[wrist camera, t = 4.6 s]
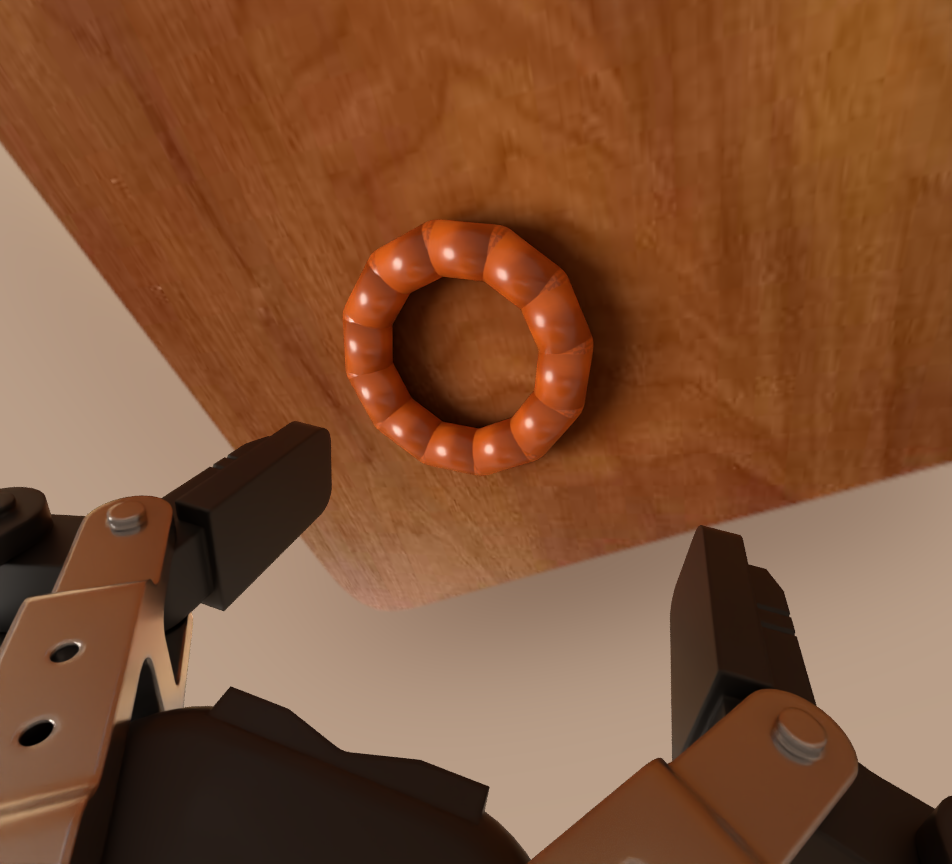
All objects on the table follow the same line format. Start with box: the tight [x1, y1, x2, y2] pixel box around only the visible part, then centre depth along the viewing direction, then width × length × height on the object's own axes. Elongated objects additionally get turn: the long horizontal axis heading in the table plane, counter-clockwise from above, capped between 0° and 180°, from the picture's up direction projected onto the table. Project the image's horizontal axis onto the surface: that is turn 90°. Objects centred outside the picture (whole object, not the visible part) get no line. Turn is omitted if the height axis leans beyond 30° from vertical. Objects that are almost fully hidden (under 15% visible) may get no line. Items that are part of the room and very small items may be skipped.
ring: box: [343, 219, 594, 476], centre depth 20 cm, size 9×9×2 cm
